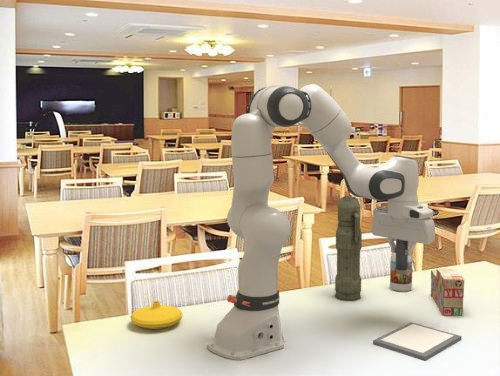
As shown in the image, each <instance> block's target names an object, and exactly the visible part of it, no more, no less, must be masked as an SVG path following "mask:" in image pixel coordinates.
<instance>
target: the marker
mask: <svg viewBox="0 0 500 376" xmlns="http://www.w3.org/2000/svg"><path fill="white" fill-rule="evenodd" d="M395 240H396V241H395V244H396V267H395V268H396V273H397V274H400V275H405V274H406V272H407V269H408V255H405V253H406V252H405V250H406V249H408V246H409V241H404V240H400V239H395Z"/></svg>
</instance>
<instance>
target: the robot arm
mask: <svg viewBox="0 0 500 376" xmlns="http://www.w3.org/2000/svg"><path fill="white" fill-rule="evenodd" d="M299 123H301V124H303V125H304V128H306V129H307V131H308V132H309V133H310V134H311V135H312V137H313V138H314V139H315V140H316V141H317V142H318V144H320V146H321V147H322V148H323V149H324V151H325V152H326V154H327V155H328V157H329V158H330V159H331V161H332V162H333V163H334V165H335V166H336V167H337V169H338V171H340V173H341V176H342V178H343V180H344V185H345V187H346V189H347V191H348V192H349V193H350V194H351V195H353V197H356V198H364V199H368V200H369V199H370V200H373V201H379V202H383V201H387V206H380V205H379V206H378V205H377V207H374V209H373V210H372V221H371V233H372V235H373V236H375V237H382V238H387V243H388V245H389V246H390V253H391V254H392V253H396V245H395V244H396V241H395V240H396V239H400V240H404V241H408V246H409V248H408V249H406V250H405V252H406V253H405V255H408V256H411V255H412V256H413V252H414V251H413V250H414V248H415V247H416V246H417V244H423V245H430V244H433V243H434V242H435V239H436V226H435V225H436V224H435V220H434V219H433V218H432V217H434V210H433V209H431V208H429V207H427V206H425V205H423V204H421V203H419V197H418V189H419V179H420V177H419V166H418V162H417V160H415V159H414V158H413V157H411V156H410V157H409V156H406V155H405V156H404V155H398V154H397V155H391V156H390V158H389V159H388V160H387V161H385V162H384V163H382V164H380V165H378V166H376V167H375V166H370V165H367V164H364V163H362V162H361V161H359V160H358V158H357V157H356V155H355V154H354V152H353V151H352V150H351V148H350V147H349V146H348V143H347V141H348V139H349V137H350V136H351V132H352V123H351V121H350V119H349V117H348V115H347V113H345V111H344V110H343V108H342V107H341V106H340V104H338V102H337V101H336V100H335V99H334V98H333V97H332V96H331V95H330V94H329V93H328V92H327V91H326V90H324V89H323V88H322V87H321V86H319V85H318V84H315V83H310V84H307V85H304V86H302V87H301V88H300V89H298V88H296V87H293V86H286V85H285V86H281V85H271V86H266V87H262V88H260V89H258V90H256V91H255V93H254V94H253V95H252V97H251V99H250V101H249V104H248V107H247V109H246V112H245V113H244V114H241V115H239V116H237V117H236V118H235V119H234V120H233V122H232V129H231V137H230V139H231V141H230V142H231V143H230V145H231V148H230V149H231V159H232V160H231V162H232V163H231V164H232V175H233V190H232V199H231V200H232V201H231V206H230V208H229V210H228V212H227V218H226V221H227V225H228V226H229V229H231V231H232V232H233V233H234V234H235V235H236V236H237V237H238V238H241V239H243V240H244V241H245V245H244V247H245V248H244V251H243V256H242V259H241V260H240V261H239V262H238V265H237V267H238V268H237V269H238V270H237V271H238V273H237V274H238V275H237V276H238V277H237V279H238V280H237V282H238V283H237V284H238V290H237V291H236V295H234V296H233V295H232V294H229V295H228V296H227V297H226V300H227V302H228V303H231V304H233V306H232V308H231V309H230V310H229V311H228V312H227V314H226V315H225V316H224V317H223V318H222V319H221V320H220V322H218V324H217V325H216V329H215V336H214V338H213V339H211V340H210V341H207V343H206V348H207V349H208V350H209V351H211V352H212V353H214V354H215V355H218V356H221V357H223V358H226V359H230V360H237V361H238V360H239V361H240V360H241V361H242V360H245V359H248V358H252V357H256V356H260V355H263V354H267V353H270V352H274V351H279V350H282V349H284V348H285V342H284V340H285V339H284V335H283V331H282V325H281V324H282V323H281V317H280V311H279V305H280V299H281V298H280V297H281V296H280V290H279V289H278V283H279V282H278V281H279V280H278V279H279V276H278V272H279V269H278V268H279V261H280V258H281V257H280V256H281V253H282V249H283V246H284V245H285V244H286V243H287V242H288V240H289V238H290V236H291V232H292V226H291V225H292V224H291V223H290V220H289V219H288V218H287V216H286V215H285V214H284V213H282V212H281V211H280V210H278V209H277V208H274V207H271V206H270V205H269V194H270V189H271V187H272V185H273V184H274V182H275V173H274V162H273V161H274V160H273V149H272V136H273V132H274V131H275V129H276V128H282V127H283V128H288V127H292V126H293V127H294V126H295V125H297V124H299Z"/></svg>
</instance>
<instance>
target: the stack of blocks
mask: <svg viewBox="0 0 500 376" xmlns="http://www.w3.org/2000/svg"><path fill="white" fill-rule="evenodd" d="M464 291H465V279H464V277H463V276H462V274H460V273H459V271H458V270H457V269H456V268H436V269H431V271H430V297H431V298H432V301H434V303H435V305H436V307H437V308H438V310H439V312H440V315H441V316H443V317H463V313H464V294H465V292H464Z"/></svg>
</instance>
